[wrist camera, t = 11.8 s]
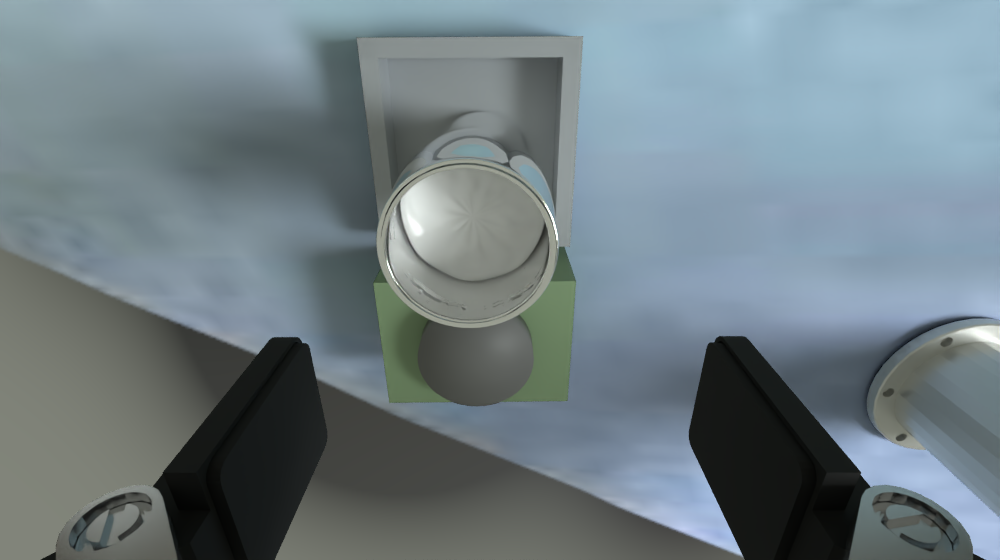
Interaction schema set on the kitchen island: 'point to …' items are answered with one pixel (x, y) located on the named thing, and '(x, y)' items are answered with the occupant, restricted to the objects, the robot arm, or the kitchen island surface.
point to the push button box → (552, 143)
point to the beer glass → (470, 226)
